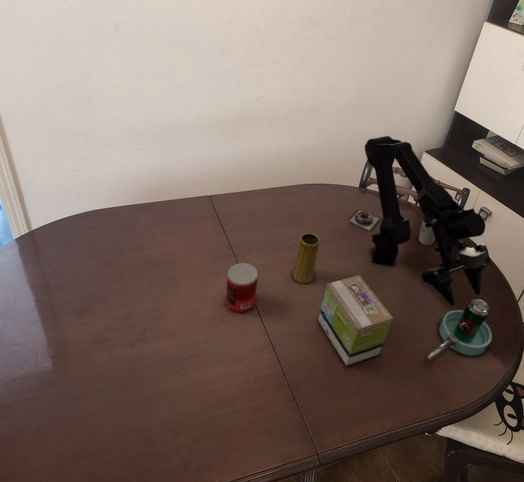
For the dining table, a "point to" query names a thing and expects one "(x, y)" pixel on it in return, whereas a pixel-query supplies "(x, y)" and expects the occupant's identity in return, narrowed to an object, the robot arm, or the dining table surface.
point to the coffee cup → (426, 233)
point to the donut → (364, 220)
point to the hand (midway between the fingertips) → (465, 299)
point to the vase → (306, 258)
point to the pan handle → (442, 347)
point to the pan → (465, 348)
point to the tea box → (354, 319)
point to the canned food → (241, 287)
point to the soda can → (471, 320)
